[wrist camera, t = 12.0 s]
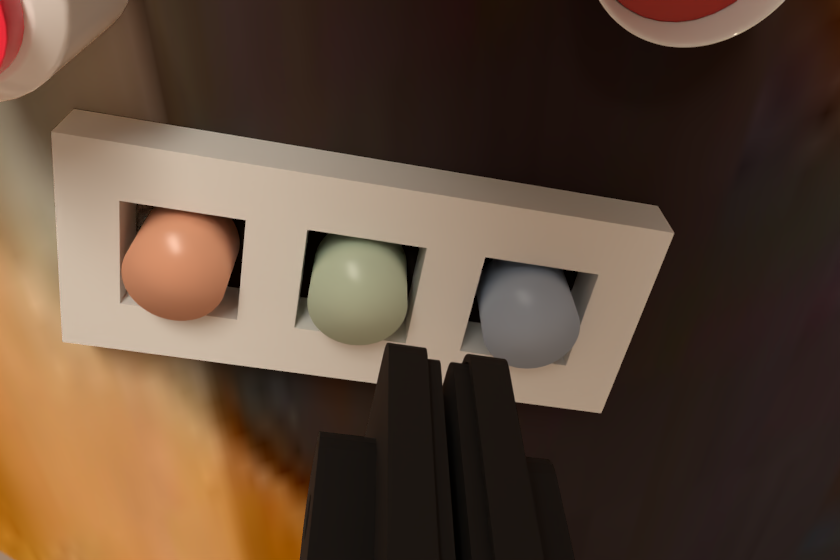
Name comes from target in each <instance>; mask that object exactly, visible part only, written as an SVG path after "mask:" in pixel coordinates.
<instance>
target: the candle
mask: <svg viewBox="0 0 840 560" xmlns="http://www.w3.org/2000/svg"><path fill="white" fill-rule="evenodd" d="M599 1H600V3H601V4H602V6H603V7H604V9H605V10H606V11H607V13H608V14H609V15H610V16H611V17H612V18H613V19H614V20H615V21H616V22H617V23H618V24H619V25H620V26H622V27H623V28H624V29H626V30H627V31H629V32H630V33H632V34H633V35H635V36H637V37H639V38H641V39H644V40H646V41H649V42H652V43H655V44H659V45H663V46H669V47H698V46H705V45H710V44H714V43H717V42H721V41H724V40H727V39H729V38H732V37H734V36H736V35H738V34H740V33H742V32H744V31H746V30H748V29H750V28H751V27H753V26H755V25H756V24H758V23H759V22H761V21H762V20H763V19H765V18H766V17H767V16H768V15H770V14H771V13H772V12H773V11H774V10H776V9H777V8H778V7H779V6H780V5H781V4H782V3H783V2H784V1H785V0H599Z"/></svg>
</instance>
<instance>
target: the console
mask: <svg viewBox="0 0 840 560" xmlns="http://www.w3.org/2000/svg"><path fill="white" fill-rule="evenodd" d="M51 140H52V159H53V177H54V196H55V214H56V233H57V251H58V270H59V288H60V307H61V325H62V342H67V343H75V344H82V345H90V346H97V347H105V348H112V349H120V350H127V351H135V352H143V353H150V354H158V355H165V356H173V357H180V358H188V359H195V360H203V361H210V362H218V363H226V364H233V365H241V366H248V367H256V368H263V369H271V370H278V371H286V372H293V373H301V374H309V375H316V376H324V377H331V378H339V379H346V380H354V381H361V382H369V383H376V384H377V380H378V375H379V371H380V366H381V362H382V358H383V353H384V349H385V346H386V343H395V344H402V345H409V346H416V347H424V348H426V349H427V354H428V359H434V360H440V362H441V372H442V385H443V382H444V379H445V375H446V372H447V369H448V366H449V364H450V362H456V363H462V362H463V359H464V357H465V355H466V354H474V355H481V356H488V357H493V355H492V354H491V353H490V352H489V351H488V349H487V347H486V345H485V343H484V339H483V333H482V327H481V323H478V322H471V321H468V319H469V316H470V312H471V308H472V304H473V301H474V297H475V293H476V290H477V286H478V282H479V279H480V275H481V271H482V267H483V264H484V260H485V257H487V258H494V259H500V260H507V261H513V262H520V263H526V264H533V265H539V266H546V267H552V268H559V269H565V270H572V271H578V274H577V276H576V279H575V282H574V285H573V288H572V291H571V295H572V298H573V301H574V303H575V306H576V309H577V312H578V315H579V319H580V332H579V335H578V338H577V340H576V342H575V344H574V346H573V347H572V348H571V349H570V351H569V352H568V353H567V354H566V355H564V356H563V357H562V358H560V359H559V360H557V361H555V362H553V363H551V364H549V365H546V366H543V367H538V368H530V369H524V368H516V367H512V366H509V370H510V376H511V381H512V387H513V392H514V397H515V402H520V403H527V404H535V405H542V406H550V407H557V408H565V409H573V410H580V411H588V412H595V413H602V410H603V408H604V405H605V403H606V400H607V398H608V395H609V393H610V390H611V388H612V385H613V383H614V381H615V378H616V376H617V373H618V371H619V368H620V366H621V363H622V361H623V358H624V356H625V353H626V351H627V349H628V346H629V344H630V341H631V339H632V336H633V334H634V331H635V329H636V326H637V324H638V321H639V319H640V317H641V314H642V312H643V309H644V307H645V304H646V302H647V299H648V297H649V294H650V292H651V289H652V287H653V285H654V282H655V280H656V277H657V275H658V272H659V270H660V267H661V265H662V262H663V260H664V257H665V255H666V253H667V250H668V248H669V245H670V243H671V240H672V238H673V235H674V232H673V230H672V228H671V227H670V225H669V223H668V222H667V220H666V219H665V217H664V215H663V214H662V212H661V210H660V209H659V207H658V206H655V205H649V204H643V203H637V202H631V201H625V200H619V199H613V198H607V197H601V196H595V195H589V194H583V193H577V192H571V191H565V190H559V189H553V188H547V187H541V186H535V185H529V184H523V183H517V182H511V181H505V180H499V179H493V178H487V177H481V176H475V175H469V174H463V173H457V172H451V171H445V170H439V169H433V168H427V167H421V166H415V165H409V164H403V163H397V162H391V161H385V160H379V159H373V158H367V157H361V156H355V155H349V154H343V153H337V152H331V151H325V150H319V149H313V148H307V147H301V146H295V145H289V144H283V143H277V142H271V141H264V140H258V139H252V138H246V137H240V136H234V135H228V134H222V133H216V132H210V131H204V130H198V129H192V128H186V127H180V126H174V125H168V124H162V123H156V122H150V121H144V120H138V119H132V118H126V117H120V116H114V115H108V114H102V113H96V112H90V111H84V110H78V109H73V110H72V111H71V112H70V113H69V114H68V115H67V116H66V117H65V118H64V119H63V120H62V121H61V122H60V123H59V124H58V125H57V126H56V127H55V128H54V129H53V130H52V131H51ZM136 203H137V204H144V205H150V206H157V207H163V208H170V209H176V210H183V211H189V212H196V213H202V214H209V215H215V216H222V217H228V218H234V219H241V220H246V223H245V235H244V246H243V258H242V270H241V281H240V288H234V287H228V286H227V288H226V291H225V294H224V297H223V299H222V301H221V302H220V304H219V305H218V306H217V307H216V308H215V309H214V310H213V311H212V312H210V313H209V314H207V315H205V316H203V317H200V318H197V319H193V320H187V321H176V320H169V319H165V318H161V317H158V316H156V315H153V314H152V313H150V312H148V311H146V310H145V309H143V308H142V307H141V306H139V305H138V304H137V303H136V302H135V301H134V300H133V299H132V297H131V296H130V295H129V293H128V292H127V290H126V288H125V286H124V283H123V279H122V273H121V269H122V262H123V259H124V257H125V254H126V253H127V251H128V249H129V248H130V246H131V244H132V242H133V241H134V239H135V237H136ZM309 230H312V231H319V232H325V233H332V234H338V235H345V236H351V237H358V238H364V239H371V240H377V241H384V242H390V243H397V244H403V245H410V246H416V247H419V251H418V256H417V260H416V265H415V269H414V274H413V278H412V283H411V288H410V292H409V297H408V301H407V313H406V316H405V319H404V321H403V323H402V324H401V326H400V327H399V328H398V329H397V330H396V332H394V333H393V334H392V335H391V336H389V337H388V338H386V339H384V340H382V341H379V342H377V343H373V344H368V345H349V344H344V343H341V342H338V341H335V340H333V339H331V338H329V337H328V336H326V335H325V334H323V333H322V332H321V331H320V330H319V329H318V328H317V327H316V326H315V324H314V323H313V321H312V319H311V317H310V315H309V312H308V306H307V299H308V298H304V297H300V294H301V286H302V279H303V271H304V264H305V256H306V249H307V241H308V234H309Z"/></svg>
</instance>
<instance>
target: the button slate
mask: <svg viewBox="0 0 840 560" xmlns="http://www.w3.org/2000/svg"><path fill="white" fill-rule="evenodd" d="M476 294H477V301H478V307H479V314H480V320H481V327H482V333H483V339H484V343H485V345H486V347H487V349H488V351H489V352H490V353H491V354H492V355H493V357H495V358H502V359H506V360H507V362H508V365H509V366H512V367H516V368H524V369H530V368H538V367H543V366H546V365H549V364H551V363H553V362H555V361H557V360H559V359H560V358H562V357H563V356H564V355H566V354H567V353H568V352H569V351H570V349H571V348H572V347H573V346H574V344H575V342H576V340H577V338H578V335H579V332H580V319H579V315H578V312H577V309H576V306H575V303H574V301H573V298H572V295H571V292H570V289H569V286H568V283H567V280H566V277H565V274H564V271H563V269H559V268H552V267H546V266H539V265H533V264H526V263H520V262H513V261H507V260H500V259H493V260H492V261H491V262H489V263H488V264H487V265H486V267H485V268H484V269H483V271H482V272H481V275H480V279H479V282H478V286H477V290H476Z"/></svg>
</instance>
